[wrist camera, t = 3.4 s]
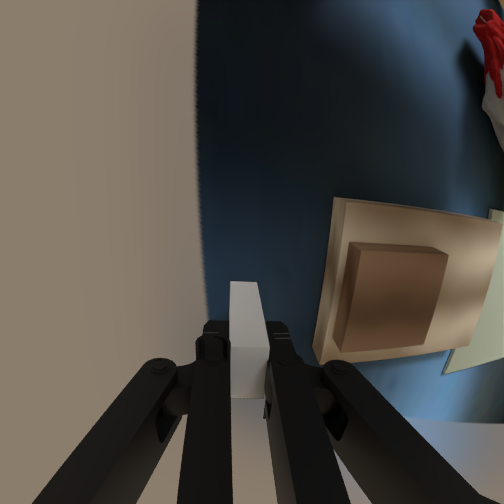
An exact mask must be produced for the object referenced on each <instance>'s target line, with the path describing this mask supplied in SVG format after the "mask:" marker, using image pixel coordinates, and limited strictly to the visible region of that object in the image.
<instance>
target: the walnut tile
mask: <svg viewBox="0 0 504 504" xmlns="http://www.w3.org/2000/svg"><path fill="white" fill-rule="evenodd" d="M448 257H449V255H448V254H446V253H444V252H442V251H440V250H438V249H436V248H434V247H428V246H413V245H398V244H382V243H366V242H349V245H348V252H347V259H346V265H345V271H344V278H343V283H342V289H341V295H340V300H339V306H338V311H337V316H336V321H335V326H334V331H333V335H332V338H333V340H334V342H335V344H336V345H337V347H338V349H339V351H340V353H346V352H360V351H372V350H383V349H392V348H401V347H409V346H417V345H424V342H425V339H426V336H427V333H428V330H429V327H430V324H431V321H432V318H433V315H434V311H435V308H436V305H437V301H438V297H439V294H440V290H441V286H442V282H443V278H444V274H445V270H446V266H447V261H448Z"/></svg>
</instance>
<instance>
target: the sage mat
mask: <svg viewBox="0 0 504 504" xmlns="http://www.w3.org/2000/svg"><path fill="white" fill-rule="evenodd" d="M488 219H489V220H492V221H495V222H498V223H501V224H503V226H502V231H501V237H500V242H499V247H498V252H497V256H496V261H495V265H494V269H493V273H492V277H491V281H490V284H489V288H488V291H487V295H486V298H485V301H484V304H483V307H482V311H481V314H480V316H479V319H478V322H477V325H476V328H475V330H474V333H473V336H472V338H471V341H470V343H469V346H465V347H460V348H455V349H452V351H451V353H450V356H449V358H448V361H447V363H446V365H445V368H444V370H443V372H444V374H447V373H451V372H455V371H459V370H463V369H466V368H470V367H473V366H477V365H480V364H484V363H487V362H490V361H493V360H496V359H499V358H502V357H504V212H503V211H498V210H494V209H490V208H489V215H488Z"/></svg>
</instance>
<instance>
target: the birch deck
mask: <svg viewBox="0 0 504 504" xmlns="http://www.w3.org/2000/svg"><path fill="white" fill-rule="evenodd" d="M502 226H503V224H501V223H498V222H495V221H492V220H489V219H486V218H481V217H476V216H470V215H465V214H459V213H453V212H447V211H441V210H434V209H428V208H421V207H414V206H407V205H400V204H392V203H384V202H376V201H367V200H358V199H349V198H339V197H334V199H333V209H332V218H331V227H330V235H329V244H328V251H327V259H326V266H325V273H324V280H323V287H322V293H321V300H320V306H319V312H318V318H317V323H316V329H315V334H314V340H313V345H312V348H313V350H314V352H315V355H316V357H317V360H318V362H319V365H324V364H325V363H326V362H328V361H330V360H337V359H338V360H344V361H346V362H349V363H354V362H365V361H375V360H384V359H392V358H400V357H407V356H414V355H421V354H427V353H433V352H439V351H444V350H450V349H455V348H460V347H465V346H469V343H470V341H471V338H472V336H473V333H474V330H475V328H476V325H477V322H478V319H479V316H480V314H481V311H482V307H483V304H484V301H485V298H486V295H487V291H488V288H489V284H490V281H491V277H492V273H493V269H494V265H495V261H496V256H497V252H498V247H499V242H500V237H501V231H502ZM349 242H366V243H382V244H398V245H413V246H428V247H434V248H436V249H438V250H440V251H442V252H444V253H446V254H448V255H449V257H448V261H447V266H446V270H445V274H444V278H443V282H442V286H441V290H440V294H439V297H438V301H437V305H436V308H435V311H434V315H433V318H432V321H431V324H430V327H429V330H428V333H427V336H426V339H425V342H424V345H417V346H409V347H401V348H392V349H383V350H372V351H360V352H346V353H340V351H339V349H338V347H337V345H336V344H335V342H334V340H333V338H332V335H333V331H334V326H335V321H336V316H337V311H338V306H339V300H340V295H341V289H342V283H343V278H344V271H345V265H346V259H347V252H348V245H349Z"/></svg>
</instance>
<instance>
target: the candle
mask: <svg viewBox="0 0 504 504" xmlns="http://www.w3.org/2000/svg"><path fill="white" fill-rule="evenodd" d="M475 22H476V25H475V26H473V31H474V33H475V34H476V36H477V37H478V39H479V40H480V42H481V44H482V47H483V49H484V59H485V61H484V62H485V69H484V83H485V86H486V88H485V95H484V97H483V102H482V109H483V110H484V111H485V112H486V113H487V114H488V116H489V117H490V119H491V122H492V125H493V127H494V130H495V134H496V136H497V139H498V141H499V144H500V146H501V148H502V150H503V151H504V23H503V22H502V20H501V19H500V18H499V16H498V15H497V14H496V13H495V12H494V11H493V10H492V9H488V10H486V9H482V10H480V13H479V16H478V18H477V19H476V20H475Z"/></svg>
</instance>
